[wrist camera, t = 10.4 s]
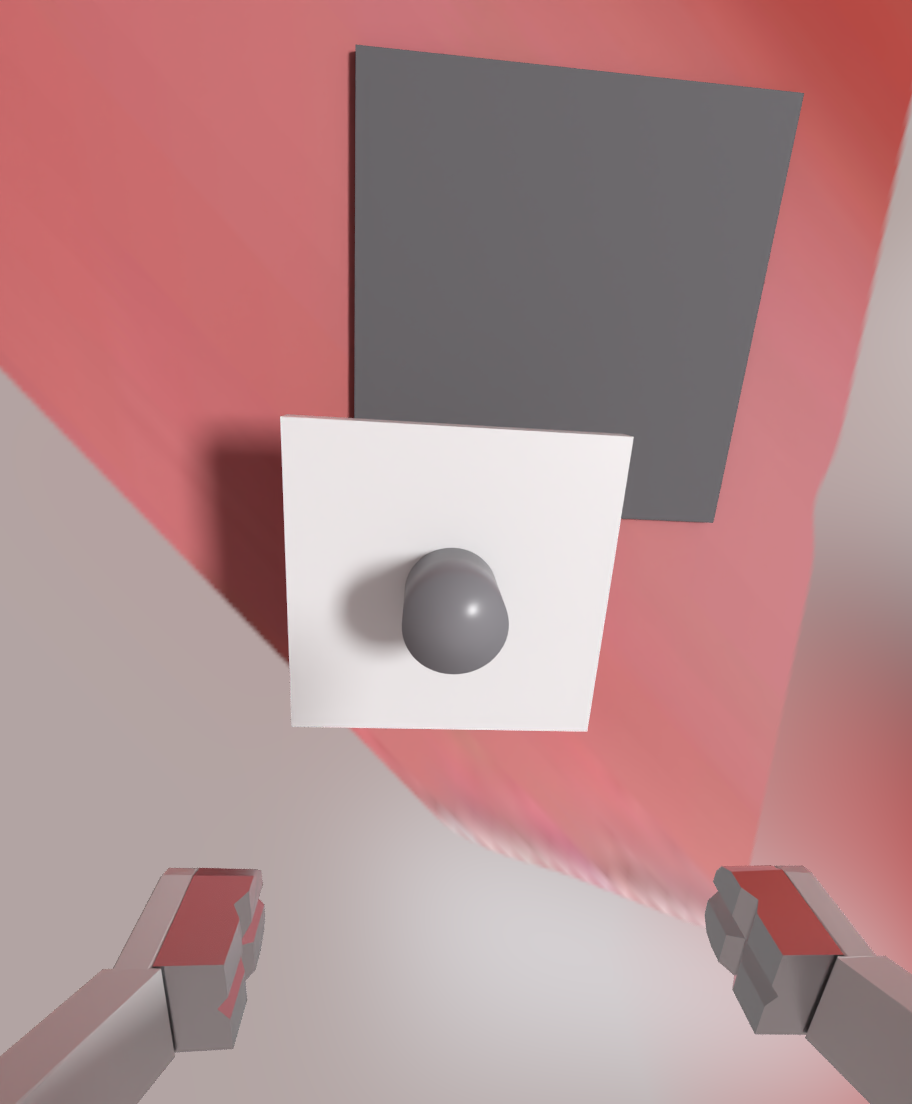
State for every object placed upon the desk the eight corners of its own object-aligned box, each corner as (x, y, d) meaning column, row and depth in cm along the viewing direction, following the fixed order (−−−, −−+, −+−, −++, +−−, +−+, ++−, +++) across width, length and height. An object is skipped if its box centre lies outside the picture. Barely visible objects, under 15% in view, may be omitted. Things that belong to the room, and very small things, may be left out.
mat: (356, 49, 23) (355, 44, 23) (798, 97, 25) (803, 93, 24) (354, 504, 29) (354, 506, 29) (709, 520, 31) (713, 522, 30)
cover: (287, 414, 22) (253, 424, 17) (623, 433, 23) (671, 447, 19) (297, 711, 26) (271, 780, 22) (580, 716, 27) (611, 783, 23)
